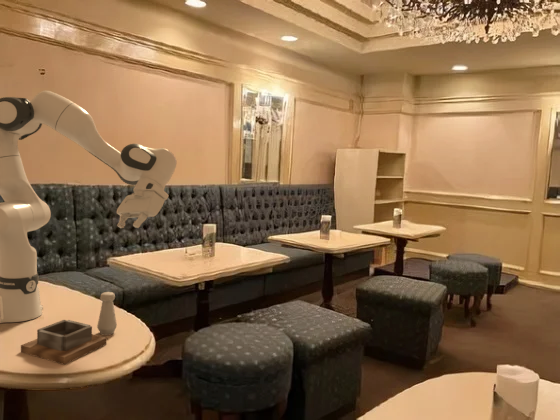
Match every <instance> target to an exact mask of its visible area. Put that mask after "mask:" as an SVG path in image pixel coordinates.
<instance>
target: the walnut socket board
mask: <svg viewBox="0 0 560 420" xmlns="http://www.w3.org/2000/svg"><path fill="white" fill-rule="evenodd" d="M36 331H37V333H36V339H33V340H31V341H28V342H25V343H23V344H21V345H20V353H23V354H27V355H29V356H32V357H33V356H34V357H35V358H36V357H37V358H40V359H44V360H47V361H51V362H55V363H58V364H62V365H66V364H69V363H70V362H73V361H74V360H77V359H79V358H81V357H83V356H85V355H87V354H89V353H91V352H93V351H95V350H97V349H99V348H101V347H102V348H103V346H105V345H107V337H105V336H102V335H101V336H100V335H96V334H93V326H91V325H90V324H87V323H83V322H79V321H74V320H71V319H67V320H66V319H62V320H59V321H57V322H53V323H51V324H49V325H46V326H43V327H41V328H38V329H37V330H36Z"/></svg>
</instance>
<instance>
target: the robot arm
mask: <svg viewBox="0 0 560 420" xmlns="http://www.w3.org/2000/svg"><path fill="white" fill-rule="evenodd" d="M43 125H46V126H48V127H49V128H51V129H53V130H54V131H56V132H58V133H59V134H60V135H62V136H64V137H66V138H67V139H69V140H70V141H72V142H74V143H75V144H77V145H78V146H80V147H81V148H82V149H84V150H86V151H87V152H88V153H89V154H91V155H92V156H94V157H95V158H97V159H98V160H99V161H101V162H102V163H103V164H104V165H106V166H108V167H109V168H111V170H113V171H114V172H115V173H116V174H117V176H118V178H120V181H122V182H123V183H125V184H127V185H130V186H134V188H133V189H132V190H133V192H132V193H131V194H128V195H126V196H125V198H124V199H123V200H122V201H121V203H120V204H119V206H118V207H117V208H116V215H119V221H118V222H117V225H116V226H117V227H118V228H120V229H124V228H125V227H126V222H127V220H128V219H130V218H137V219H136V220H134V221H133V223H132V227H134V228H137V229H139V228H140V227H141V226H142V224H143V223H144V222H145V221H146V220H147V219H148V218H151V217H152V218H153V217H155V216H157V215H158V214H159V212H160V211H161V210H162V208H163V206H164V204H165V201H167V200H168V198H169V194H168V193H167V192H166V191H165V188H166V185H167V184H168V183H169V181H171V179H172V177H173V175H174V173H175V169H176V168H177V159H176V156H175V155H174V153H172V151H170V150H168V149H167V148H163V147H160V148H159V147H158V148H153V147H147V146H143V145H142V144H139V143H130V144H128V145H125V146H124V147H123V148H122V149H121V152H120V151H119V150H118V149H116V148H115V147H113V146H112V145H110V144H109V143H108V142H107V141H106V140H104V138H103V137H102V135H101V134H100V132H99V131H98V128H97V126H96V123H95V120H94V118H93V116H92V115H91V114H90V113H89V112H88V111H87V110H85V109H84V108H83V107H81V106H80V105H79V104H77V103H75V102H74V101H72V100H70V99H69V98H67V97H65V96H63V95H61V94H59V93H56V92H53V91H51V90H42V91H40V92H37V93H36V95H35V96H34V97H33V98H32V99H31V100H29V99H28V98H25V97H15V96H5V97H1V98H0V196H1V198H2V200H3V201H4V202H3V201H2V202H0V324H2V323H3V324H4V323H19V322H25V321H29V320H33V319H36V318H39V317H41V315H42V314H43V308H44V306H43V305H42V304H41V302H42V301H41V294H40V287H39V285H38V284H39V277H40V276H39V273H38V271H37V270H38V267H37V265H38V261H37V260H38V254H37V249H36V248H35V247H34V246H32V245H31V244H30V241H29V238H28V233H29V232H33V231H37V230H39V229H41V228H42V227H44V226H46V225H47V224H48V223H49V222H50V219H51V216H52V215H51V209H50V206H49V205H48V203H46V201H44V200H43V199H41V198H40V197H39V195H38V194H37V193H36V192H35V190H34V188H33V186H32V185H31V183H30V181H29V179H28V177H27V173H26V171H25V167H24V164H23V159H22V156H21V154H20V150H19V145H18V141H19V140H20V141H22V140H24V139H26V138H28V137H29V136H32V135H34V134H36V133H38V131H40V129H41V128H42V126H43Z"/></svg>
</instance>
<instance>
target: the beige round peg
mask: <svg viewBox="0 0 560 420" xmlns="http://www.w3.org/2000/svg"><path fill="white" fill-rule="evenodd" d="M99 298H100V301H101V306H100V312H99V317H98V321H97V326H96V327H97V330H98V332H99V333H100V335H101V336H110V335H113V333H115V331H116V328H117V326H118V325H117V318H116V311H115V306H114V301H115V298H116V295H115V292H112V291H105V292H102V293H101V294H100V297H99Z"/></svg>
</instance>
